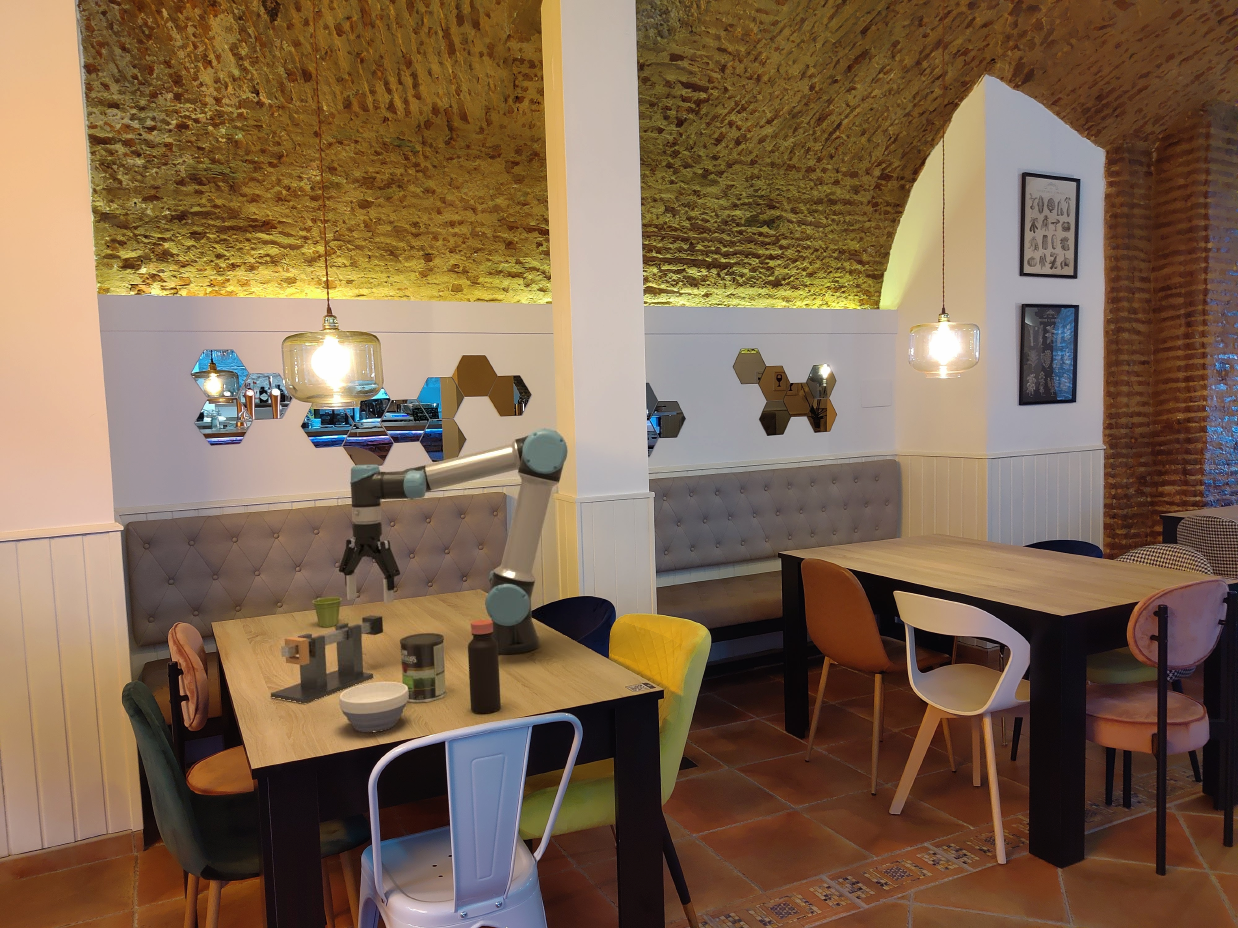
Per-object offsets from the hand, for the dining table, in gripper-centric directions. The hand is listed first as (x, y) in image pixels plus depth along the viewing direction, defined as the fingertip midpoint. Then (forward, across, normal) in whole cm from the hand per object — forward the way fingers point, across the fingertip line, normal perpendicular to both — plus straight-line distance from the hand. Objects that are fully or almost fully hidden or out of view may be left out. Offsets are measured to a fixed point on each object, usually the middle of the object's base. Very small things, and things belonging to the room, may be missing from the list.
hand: (370, 600), depth 225 cm
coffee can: (+19, +29, -12) cm, 37 cm away
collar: (+10, 0, -25) cm, 27 cm away
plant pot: (+19, -54, +33) cm, 66 cm away
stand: (+19, 0, -17) cm, 25 cm away
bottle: (+18, +49, -14) cm, 55 cm away
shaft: (+9, 0, -13) cm, 16 cm away
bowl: (+19, +33, -32) cm, 50 cm away
